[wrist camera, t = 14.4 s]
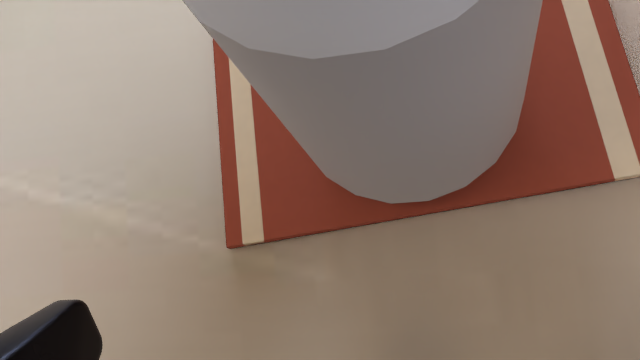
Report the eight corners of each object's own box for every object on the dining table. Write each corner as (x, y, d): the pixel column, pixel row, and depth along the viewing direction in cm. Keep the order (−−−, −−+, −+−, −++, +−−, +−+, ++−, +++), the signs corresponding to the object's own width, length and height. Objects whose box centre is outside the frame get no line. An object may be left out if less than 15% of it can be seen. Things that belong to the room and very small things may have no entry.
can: (260, 120, 21) (21, -146, 10) (399, -27, 21) (318, -444, 10) (415, 258, 18) (323, 102, 7) (572, 86, 19) (717, -319, 7)
